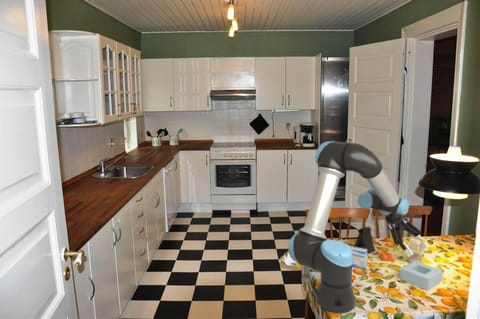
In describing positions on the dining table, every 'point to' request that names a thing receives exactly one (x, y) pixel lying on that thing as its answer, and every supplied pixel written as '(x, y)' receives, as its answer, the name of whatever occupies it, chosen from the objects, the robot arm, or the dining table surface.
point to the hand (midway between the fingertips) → (418, 251)
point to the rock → (386, 256)
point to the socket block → (421, 275)
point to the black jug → (365, 240)
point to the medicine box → (359, 257)
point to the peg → (416, 249)
